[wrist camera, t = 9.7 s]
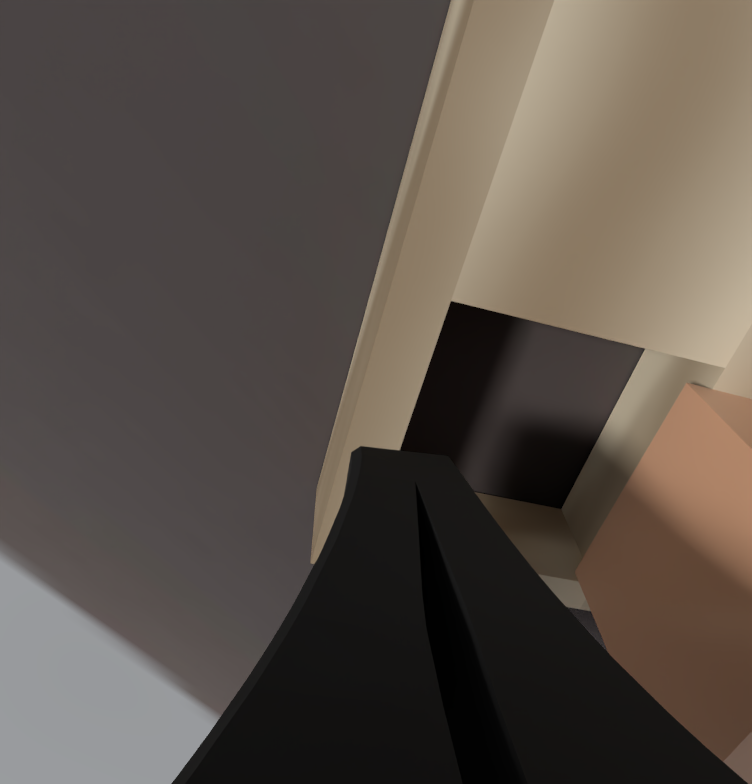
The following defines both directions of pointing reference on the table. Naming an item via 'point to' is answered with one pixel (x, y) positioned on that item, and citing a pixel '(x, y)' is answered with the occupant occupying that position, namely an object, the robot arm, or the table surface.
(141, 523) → the table surface
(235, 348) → the table surface
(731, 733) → the block
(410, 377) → the trap board
